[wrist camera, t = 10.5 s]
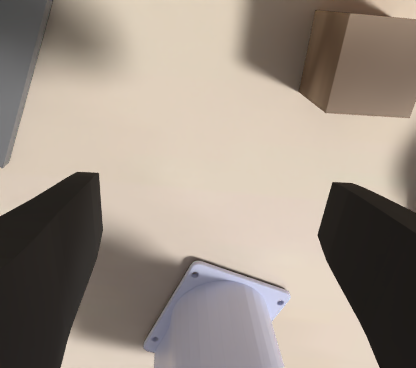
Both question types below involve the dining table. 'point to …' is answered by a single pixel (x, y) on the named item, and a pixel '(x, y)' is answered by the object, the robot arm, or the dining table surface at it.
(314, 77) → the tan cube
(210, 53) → the dining table surface
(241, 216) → the dining table surface
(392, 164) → the dining table surface
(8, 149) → the slate board
